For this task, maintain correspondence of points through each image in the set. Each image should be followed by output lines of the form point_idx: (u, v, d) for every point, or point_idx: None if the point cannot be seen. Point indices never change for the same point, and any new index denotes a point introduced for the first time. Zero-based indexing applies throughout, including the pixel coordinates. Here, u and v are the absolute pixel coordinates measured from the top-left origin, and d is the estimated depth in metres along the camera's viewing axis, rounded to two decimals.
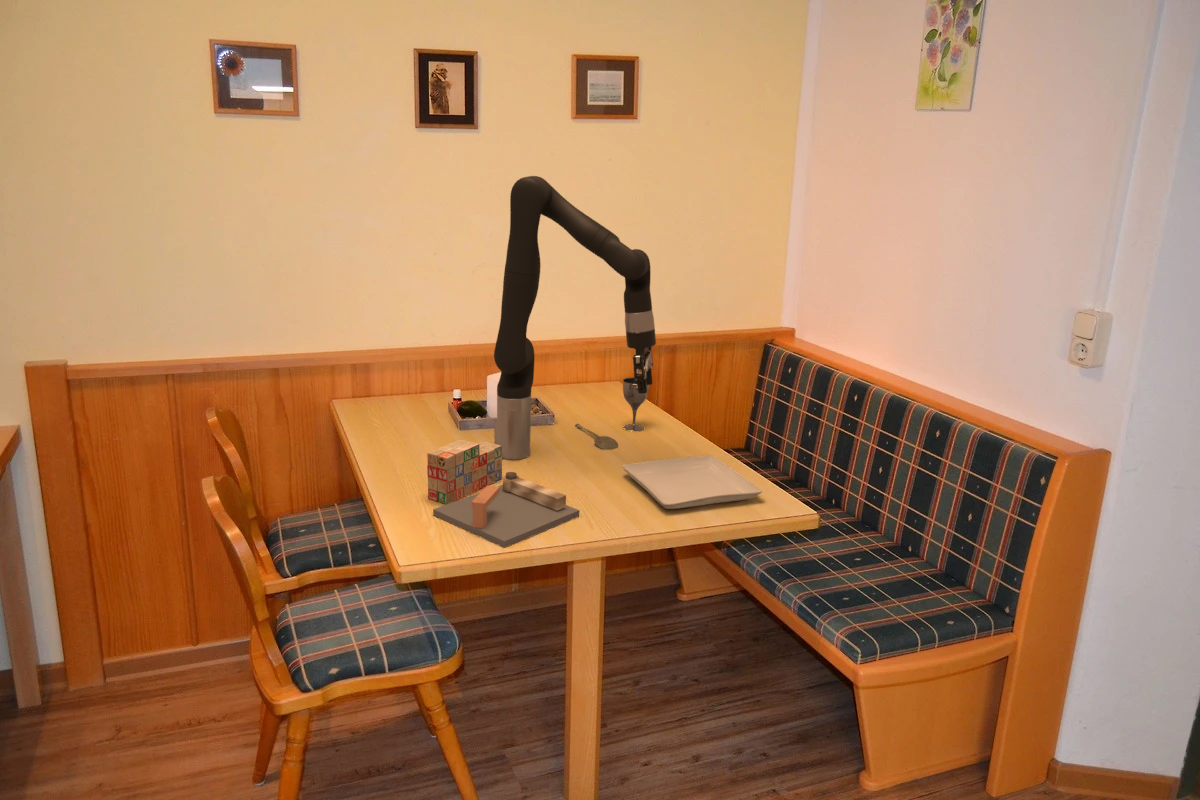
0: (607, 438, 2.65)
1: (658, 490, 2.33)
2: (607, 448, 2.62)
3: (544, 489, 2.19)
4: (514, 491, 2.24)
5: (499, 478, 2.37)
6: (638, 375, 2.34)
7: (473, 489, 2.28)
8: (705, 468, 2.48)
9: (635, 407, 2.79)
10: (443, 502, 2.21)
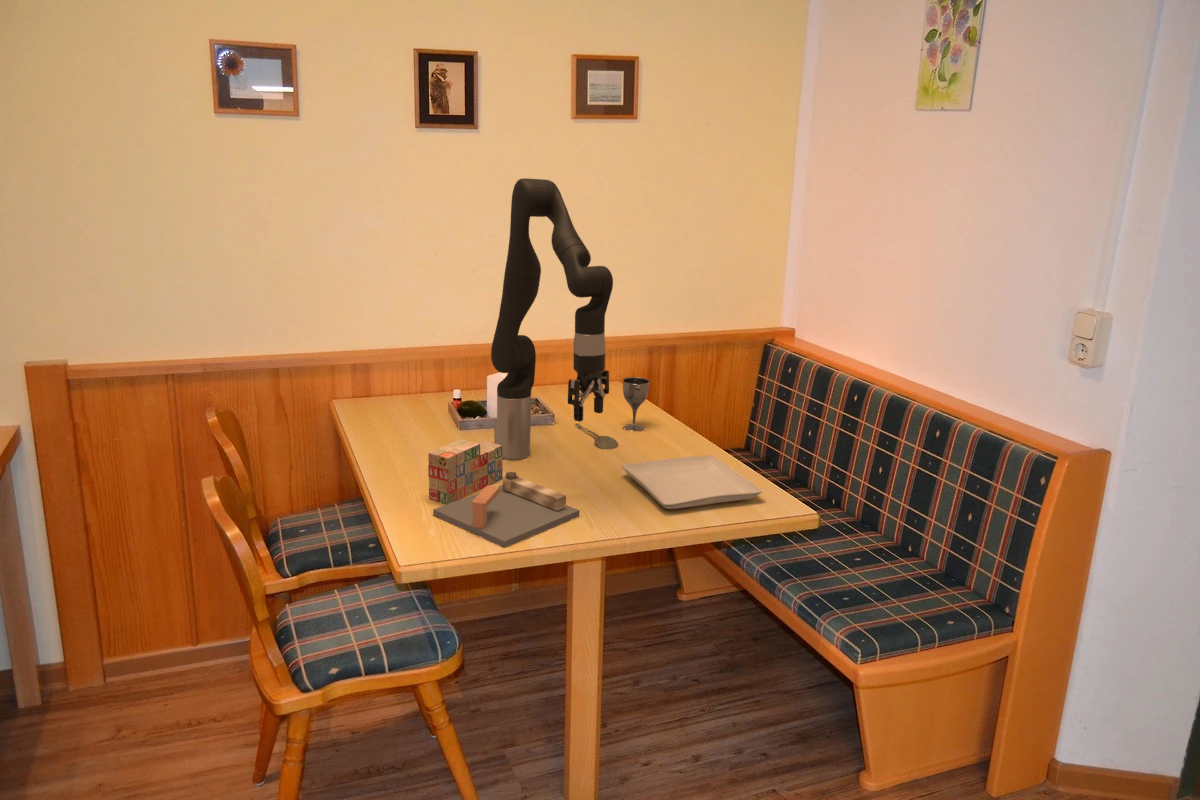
0: (607, 438, 2.65)
1: (658, 490, 2.33)
2: (607, 448, 2.63)
3: (544, 489, 2.19)
4: (514, 491, 2.24)
5: (500, 478, 2.37)
6: (571, 401, 2.16)
7: (474, 489, 2.28)
8: (705, 468, 2.48)
9: (635, 407, 2.79)
10: (444, 502, 2.21)
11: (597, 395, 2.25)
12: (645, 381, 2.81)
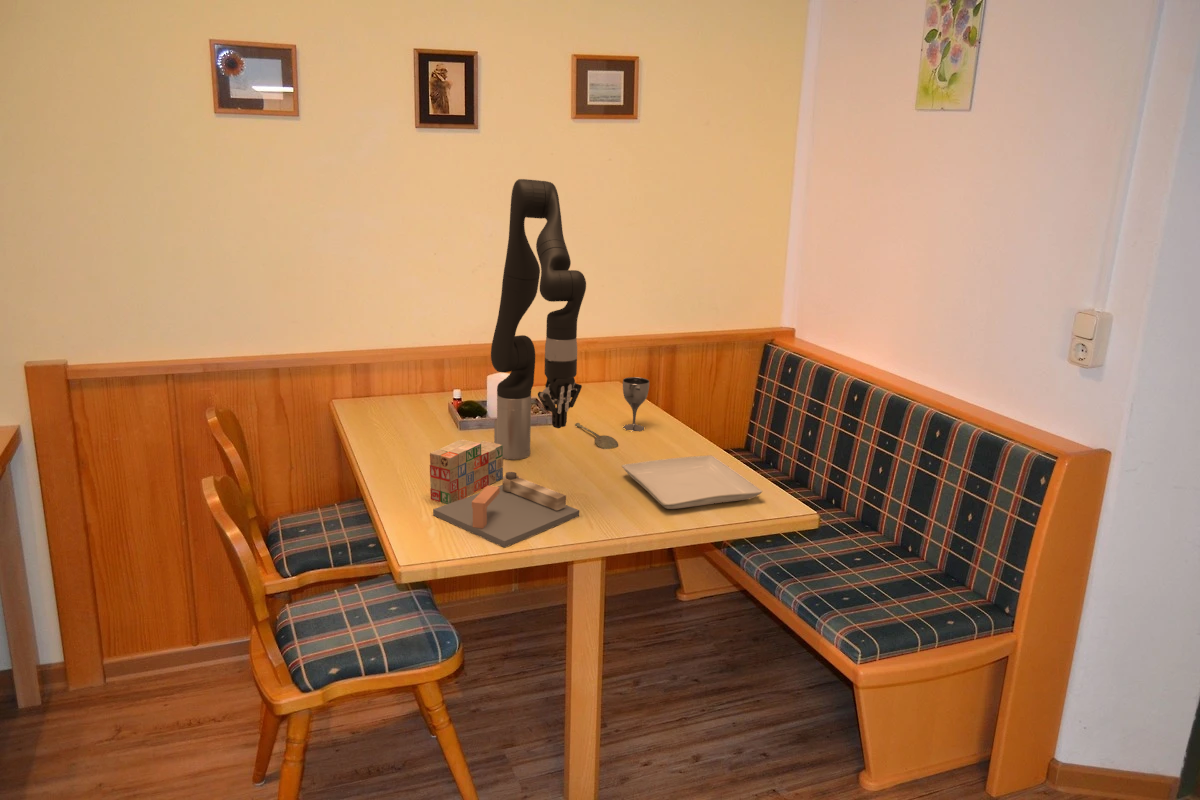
0: (607, 437, 2.66)
1: (658, 490, 2.33)
2: (607, 447, 2.63)
3: (544, 489, 2.19)
4: (514, 491, 2.24)
5: (500, 477, 2.37)
6: (548, 409, 2.16)
7: (475, 489, 2.28)
8: (705, 468, 2.48)
9: (635, 407, 2.79)
10: (446, 502, 2.21)
11: None
12: (645, 381, 2.81)
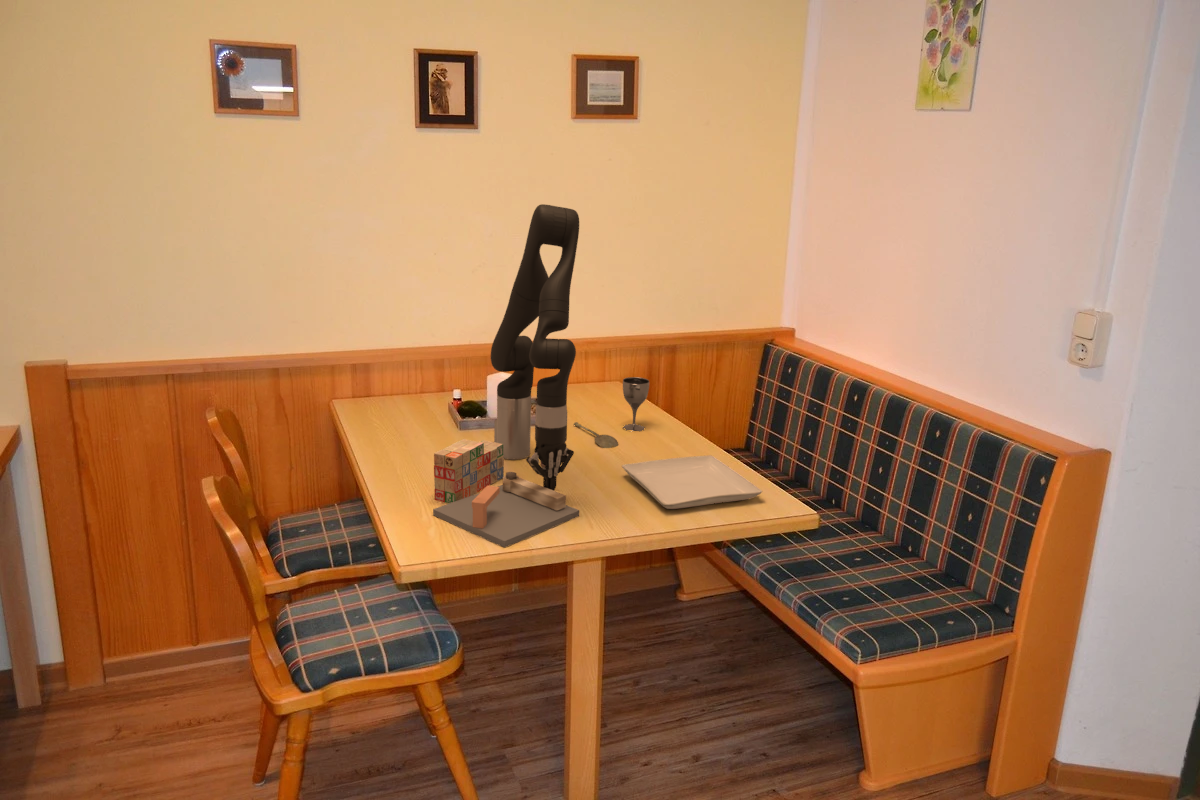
0: (607, 436, 2.67)
1: (658, 490, 2.33)
2: (607, 447, 2.64)
3: (544, 489, 2.19)
4: (514, 491, 2.24)
5: (501, 476, 2.38)
6: (539, 473, 2.19)
7: (478, 488, 2.29)
8: (705, 468, 2.48)
9: (635, 407, 2.79)
10: (451, 502, 2.21)
11: None
12: (645, 381, 2.81)
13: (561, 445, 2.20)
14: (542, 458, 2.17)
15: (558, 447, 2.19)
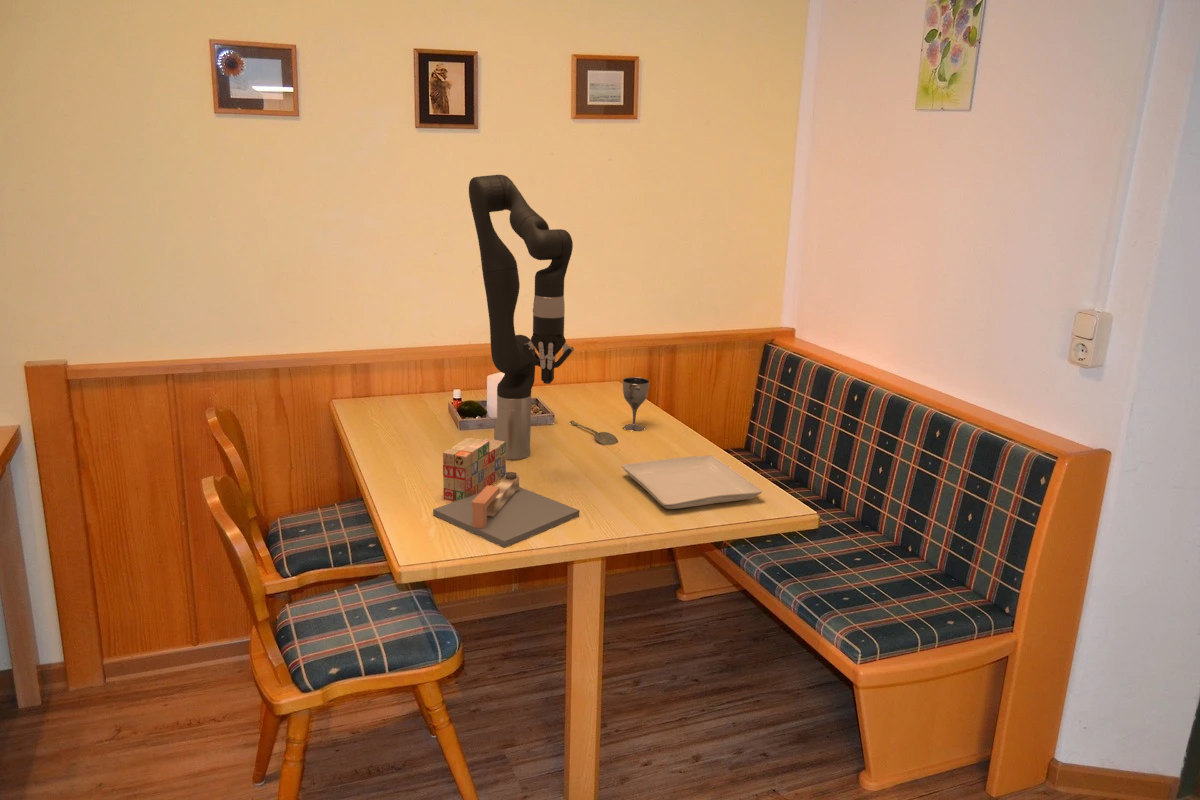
0: (607, 434, 2.69)
1: (658, 490, 2.33)
2: (607, 444, 2.66)
3: None
4: None
5: (504, 474, 2.40)
6: None
7: (484, 486, 2.30)
8: (705, 468, 2.48)
9: (635, 407, 2.79)
10: None
11: None
12: (645, 381, 2.81)
13: (556, 339, 2.22)
14: (534, 346, 2.24)
15: (552, 340, 2.22)
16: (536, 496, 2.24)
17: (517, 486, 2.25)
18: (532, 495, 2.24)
